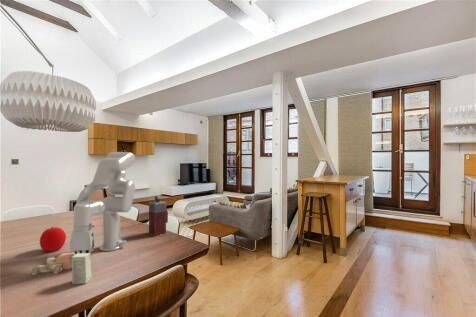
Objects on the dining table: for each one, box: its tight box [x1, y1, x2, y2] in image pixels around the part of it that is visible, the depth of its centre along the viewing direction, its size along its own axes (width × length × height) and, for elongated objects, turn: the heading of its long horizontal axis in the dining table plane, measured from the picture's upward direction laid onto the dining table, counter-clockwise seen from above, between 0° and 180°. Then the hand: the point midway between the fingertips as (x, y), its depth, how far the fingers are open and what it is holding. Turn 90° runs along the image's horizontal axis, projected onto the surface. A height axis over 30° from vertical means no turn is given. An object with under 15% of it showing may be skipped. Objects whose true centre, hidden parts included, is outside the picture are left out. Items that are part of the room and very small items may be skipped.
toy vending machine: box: [148, 195, 169, 237], centre depth 172 cm, size 9×11×28 cm
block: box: [55, 252, 76, 271], centre depth 120 cm, size 6×6×6 cm
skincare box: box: [71, 252, 92, 285], centre depth 106 cm, size 6×4×12 cm
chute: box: [31, 255, 63, 276], centre depth 119 cm, size 11×14×3 cm
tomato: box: [39, 226, 67, 252], centre depth 141 cm, size 13×11×14 cm
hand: (82, 263), depth 121 cm, fingers closed
